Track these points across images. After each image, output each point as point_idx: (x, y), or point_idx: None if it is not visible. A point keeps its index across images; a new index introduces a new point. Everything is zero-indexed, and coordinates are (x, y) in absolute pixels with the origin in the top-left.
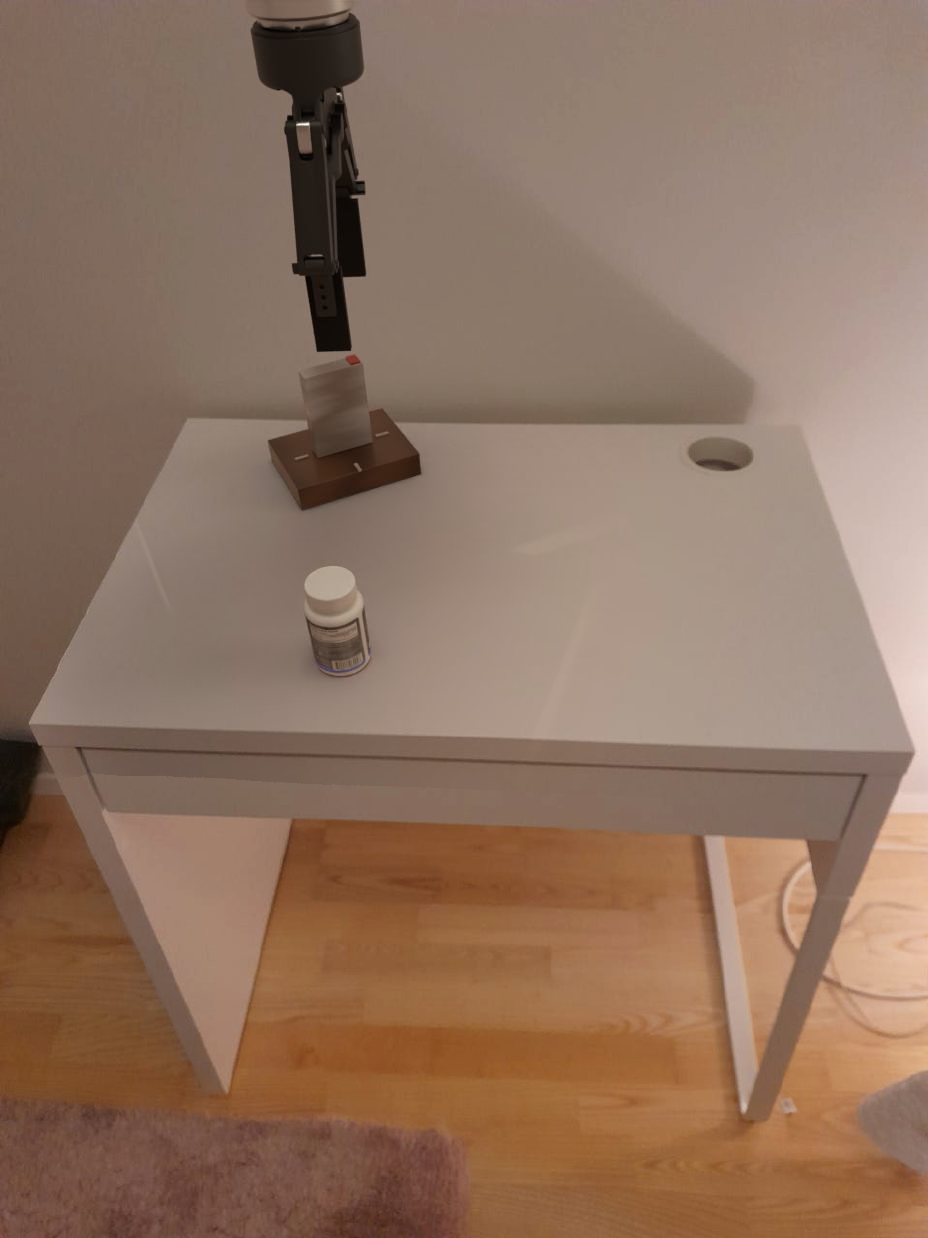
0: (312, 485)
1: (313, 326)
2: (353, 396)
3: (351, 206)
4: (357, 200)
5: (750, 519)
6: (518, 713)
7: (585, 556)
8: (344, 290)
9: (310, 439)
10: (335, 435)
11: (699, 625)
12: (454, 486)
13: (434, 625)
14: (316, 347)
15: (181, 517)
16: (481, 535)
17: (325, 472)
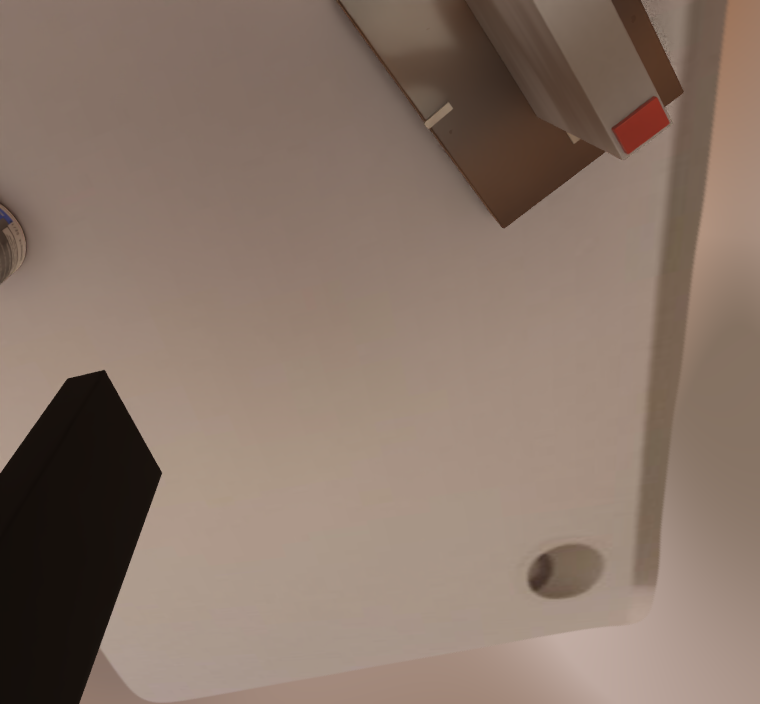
0: (356, 26)
1: (18, 453)
2: (567, 110)
3: None
4: None
5: (433, 606)
6: None
7: (323, 479)
8: (81, 687)
9: None
10: (505, 47)
11: (236, 587)
12: (459, 281)
13: (112, 341)
14: (60, 391)
15: None
16: (335, 352)
17: (411, 41)
